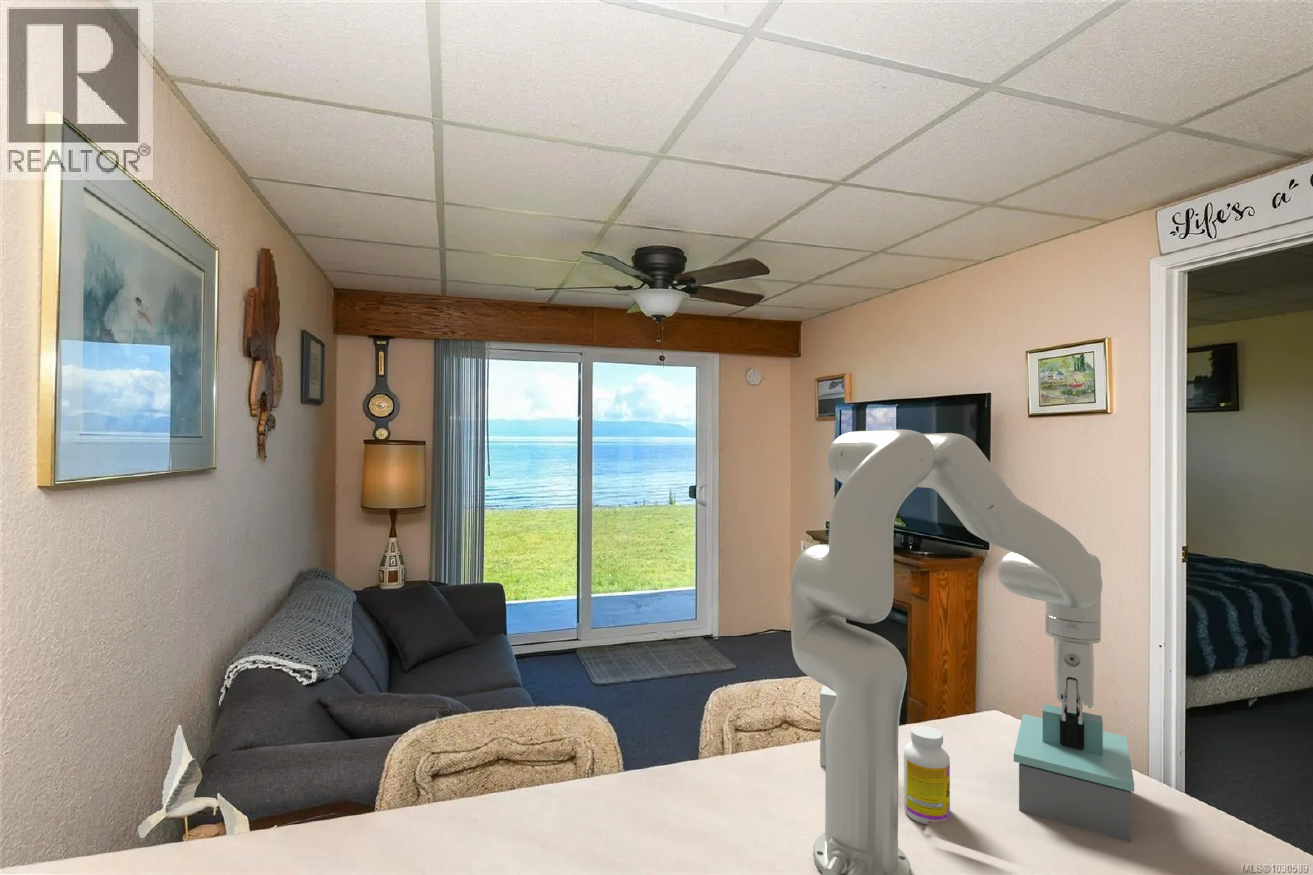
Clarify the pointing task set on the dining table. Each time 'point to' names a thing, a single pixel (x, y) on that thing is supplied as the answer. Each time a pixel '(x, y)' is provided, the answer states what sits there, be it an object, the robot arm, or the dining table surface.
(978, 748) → the dining table surface
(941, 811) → the supplement bottle
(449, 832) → the dining table surface
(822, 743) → the small box
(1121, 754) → the lid
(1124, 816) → the tub
